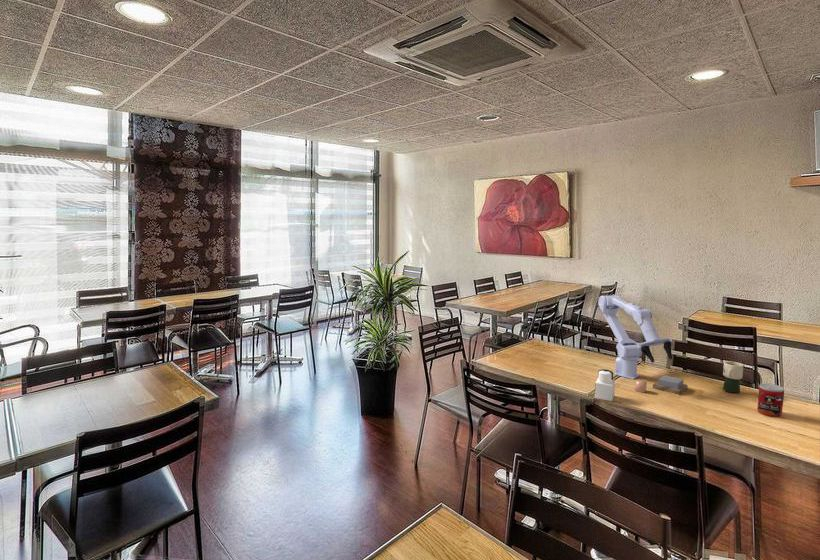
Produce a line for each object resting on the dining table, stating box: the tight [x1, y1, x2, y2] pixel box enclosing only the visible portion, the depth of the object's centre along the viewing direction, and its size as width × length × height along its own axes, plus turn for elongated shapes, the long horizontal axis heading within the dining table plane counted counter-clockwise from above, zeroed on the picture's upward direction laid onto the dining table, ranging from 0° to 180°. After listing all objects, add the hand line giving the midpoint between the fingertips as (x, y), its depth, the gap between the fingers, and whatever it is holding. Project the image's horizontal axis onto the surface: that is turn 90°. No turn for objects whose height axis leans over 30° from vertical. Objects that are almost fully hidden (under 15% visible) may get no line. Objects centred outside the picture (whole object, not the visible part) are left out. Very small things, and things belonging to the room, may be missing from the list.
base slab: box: [652, 381, 689, 396], centre depth 202 cm, size 11×11×2 cm
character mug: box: [722, 360, 744, 393], centre depth 197 cm, size 11×7×13 cm, turn 129°
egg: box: [634, 379, 648, 394], centre depth 199 cm, size 4×4×4 cm
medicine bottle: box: [594, 368, 616, 402], centre depth 192 cm, size 7×7×12 cm
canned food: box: [756, 383, 785, 418], centre depth 174 cm, size 8×8×11 cm
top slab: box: [658, 374, 685, 389], centre depth 202 cm, size 8×8×2 cm
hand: (662, 360), depth 197 cm, fingers open, 7 cm apart
